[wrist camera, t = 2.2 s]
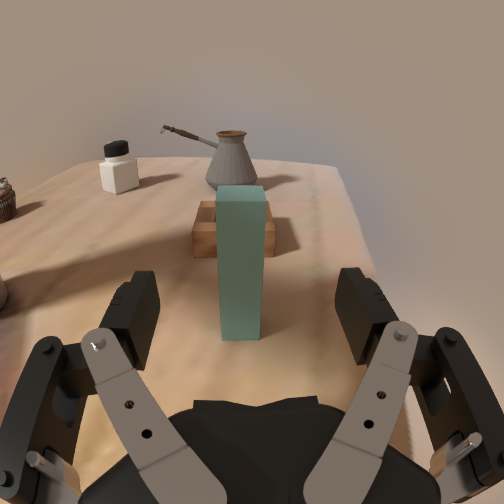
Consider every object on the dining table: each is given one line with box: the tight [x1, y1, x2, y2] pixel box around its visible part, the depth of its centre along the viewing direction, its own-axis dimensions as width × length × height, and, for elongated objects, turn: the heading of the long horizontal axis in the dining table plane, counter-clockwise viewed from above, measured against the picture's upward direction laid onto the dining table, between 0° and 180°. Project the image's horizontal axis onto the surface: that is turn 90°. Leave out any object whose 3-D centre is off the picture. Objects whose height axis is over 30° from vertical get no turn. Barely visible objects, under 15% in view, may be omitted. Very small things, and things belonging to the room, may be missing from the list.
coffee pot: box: [161, 125, 257, 192], centre depth 62 cm, size 21×12×15 cm, turn 88°
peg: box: [215, 185, 267, 340], centre depth 26 cm, size 4×4×14 cm
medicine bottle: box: [99, 140, 139, 195], centre depth 64 cm, size 7×7×12 cm
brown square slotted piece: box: [192, 201, 276, 257], centre depth 44 cm, size 11×11×4 cm
